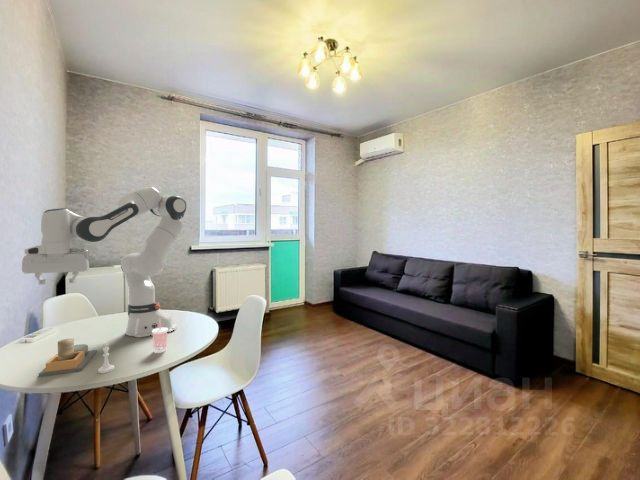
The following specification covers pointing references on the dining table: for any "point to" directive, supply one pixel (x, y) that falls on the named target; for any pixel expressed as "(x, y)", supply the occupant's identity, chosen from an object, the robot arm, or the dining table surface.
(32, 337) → the dining table surface
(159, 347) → the beverage cup
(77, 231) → the robot arm
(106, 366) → the chess piece
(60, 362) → the base
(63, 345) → the wooden peg
